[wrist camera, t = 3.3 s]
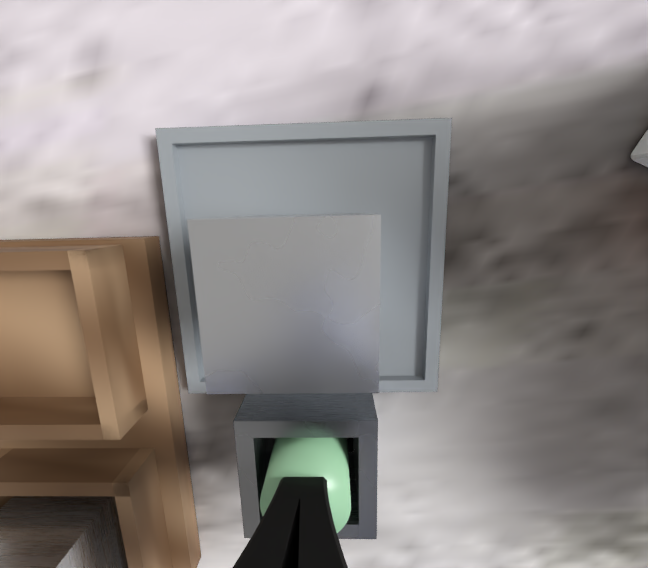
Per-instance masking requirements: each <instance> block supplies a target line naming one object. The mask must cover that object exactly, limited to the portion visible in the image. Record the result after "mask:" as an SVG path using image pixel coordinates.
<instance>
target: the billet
mask: <svg viewBox="0 0 648 568" xmlns="http://www.w3.org/2000/svg"><path fill="white" fill-rule="evenodd" d="M187 223H188V232H189V241H190V250H191V258H192V267H193V276H194V285H195V294H196V303H197V312H198V320H199V329H200V338H201V347H202V356H203V365H204V374H205V383H206V391H207V394H293V393H379V346H380V258H381V215H378V214H367V213H335V214H296V215H258V216H238V217H222V218H206V219H190V220H187Z"/></svg>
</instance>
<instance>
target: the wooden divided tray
mask: <svg viewBox="0 0 648 568" xmlns="http://www.w3.org/2000/svg"><path fill="white" fill-rule="evenodd" d="M14 496H113V497H115V501H116V506H117V511H118V516H119V522H120V527H121V532H122V537H123V542H124V547H125V553H126V558H127V563H128V568H197V565H198V563H199V560H200V558H201V551H200V544H199V536H198V529H197V521H196V514H195V506H194V499H193V491H192V483H191V476H190V468H189V461H188V453H187V446H186V438H185V430H184V423H183V415H182V408H181V400H180V393H179V385H178V378H177V370H176V362H175V355H174V347H173V340H172V332H171V325H170V317H169V309H168V302H167V294H166V287H165V279H164V272H163V264H162V257H161V249H160V241H159V236H151V237H109V238H68V239H26V240H0V508H1V507H2V506H3V505H5V504H6V503H7V502H8V501H9V500H10V499H11V498H12V497H14Z"/></svg>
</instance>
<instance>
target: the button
mask: <svg viewBox="0 0 648 568" xmlns="http://www.w3.org/2000/svg"><path fill="white" fill-rule="evenodd" d="M283 477H324V478H325V479H326V480H327V489H328V498H329V503H330V508H331V513H332V517H333V521H334V525H335V529H336V532H337V533H338V532H339V531H340V530H341V529H342V528H343V527H344V526H345V524H346V523H347V521H348V519H349V516H350V512H351V495H350V478H349V460H348V443H347V438H275V442H274V446H273V450H272V454H271V458H270V462H269V466H268V469H267V473H266V477H265V481H264V485H263V489H262V493H261V497H260V509H261V513H262V516H264V514H265V512H266V510H267V508H268V506H269V504H270V502H271V500H272V498H273V496H274V494H275V492H276V490H277V487H278V485H279V482H280V480H281V479H282V478H283Z"/></svg>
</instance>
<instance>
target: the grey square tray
mask: <svg viewBox="0 0 648 568" xmlns="http://www.w3.org/2000/svg"><path fill="white" fill-rule="evenodd" d="M451 128H452V118H433V119H405V120H377V121H349V122H321V123H292V124H264V125H236V126H208V127H180V128H155V130H156V138H157V146H158V154H159V162H160V170H161V178H162V186H163V194H164V202H165V210H166V218H167V226H168V233H169V241H170V249H171V257H172V265H173V273H174V281H175V289H176V297H177V305H178V313H179V321H180V329H181V337H182V345H183V353H184V361H185V369H186V377H187V385H188V393H207V391H206V383H205V374H204V365H203V356H202V347H201V338H200V329H199V320H198V312H197V303H196V294H195V285H194V276H193V267H192V258H191V250H190V241H189V232H188V223H187V220H190V219H206V218H222V217H238V216H258V215H296V214H335V213H367V214H378V215H381V258H380V346H379V392H437V390H438V371H439V352H440V334H441V315H442V296H443V277H444V259H445V240H446V221H447V203H448V184H449V165H450V146H451Z"/></svg>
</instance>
